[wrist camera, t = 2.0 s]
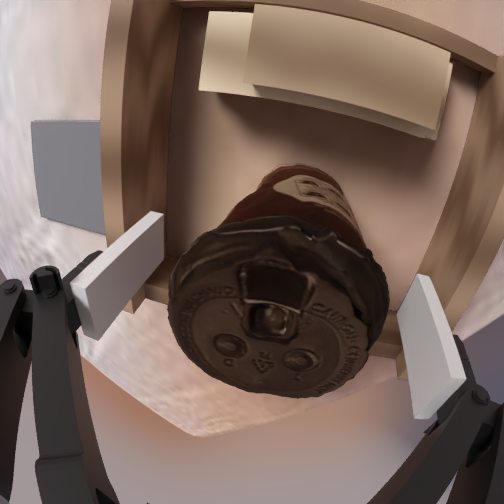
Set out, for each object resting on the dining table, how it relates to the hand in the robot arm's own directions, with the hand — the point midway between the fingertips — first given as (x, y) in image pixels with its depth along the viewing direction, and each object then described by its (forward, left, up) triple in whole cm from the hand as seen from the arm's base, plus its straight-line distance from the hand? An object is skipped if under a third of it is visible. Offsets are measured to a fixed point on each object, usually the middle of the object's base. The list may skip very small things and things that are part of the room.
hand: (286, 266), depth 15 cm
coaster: (+1, -20, -7) cm, 21 cm away
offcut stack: (-10, 0, -7) cm, 12 cm away
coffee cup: (0, 0, -8) cm, 8 cm away
